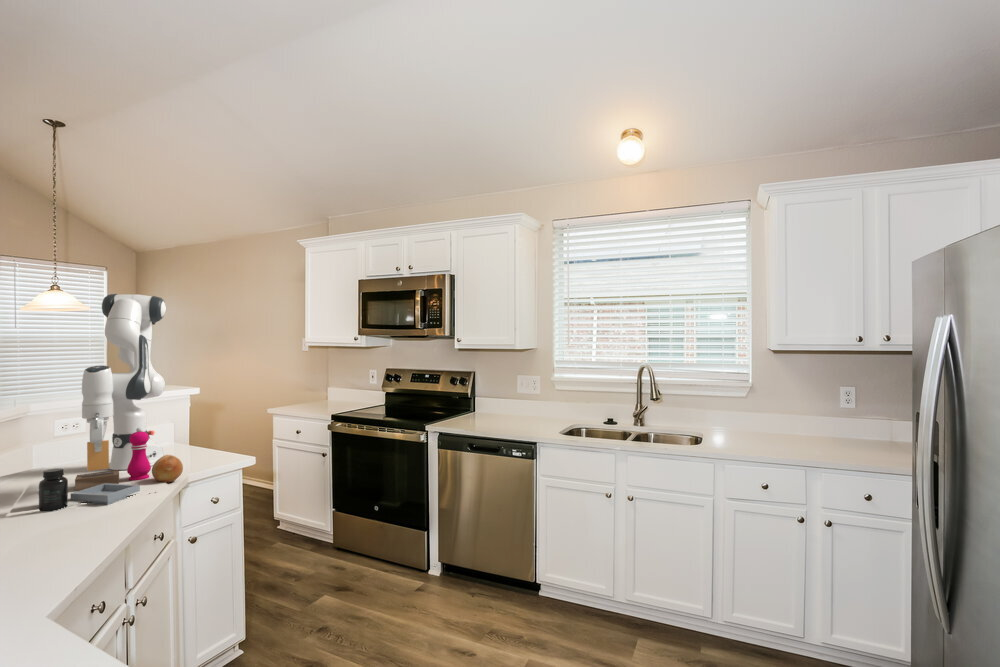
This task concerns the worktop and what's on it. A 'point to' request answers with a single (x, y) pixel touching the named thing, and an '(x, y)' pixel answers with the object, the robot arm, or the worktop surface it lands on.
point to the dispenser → (96, 479)
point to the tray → (105, 493)
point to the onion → (167, 469)
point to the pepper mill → (139, 456)
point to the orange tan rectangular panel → (98, 456)
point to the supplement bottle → (53, 490)
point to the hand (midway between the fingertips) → (98, 450)
